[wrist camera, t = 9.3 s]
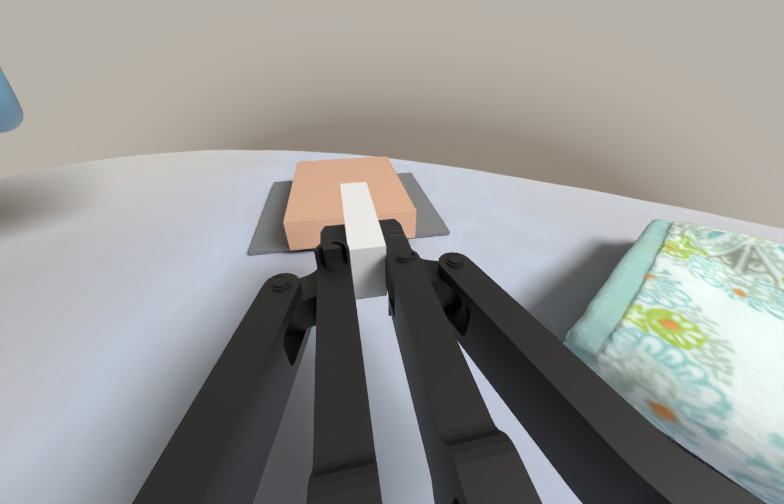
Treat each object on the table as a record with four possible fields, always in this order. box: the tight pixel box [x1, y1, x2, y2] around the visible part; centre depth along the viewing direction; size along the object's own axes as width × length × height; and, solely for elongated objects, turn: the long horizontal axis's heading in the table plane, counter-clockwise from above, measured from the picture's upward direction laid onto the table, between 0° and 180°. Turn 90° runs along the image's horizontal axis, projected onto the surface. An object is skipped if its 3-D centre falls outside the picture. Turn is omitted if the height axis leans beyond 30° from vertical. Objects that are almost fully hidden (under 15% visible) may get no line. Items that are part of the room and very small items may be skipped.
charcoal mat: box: [248, 173, 450, 255], centre depth 35 cm, size 20×17×1 cm
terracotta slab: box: [283, 157, 417, 250], centre depth 33 cm, size 12×3×16 cm
